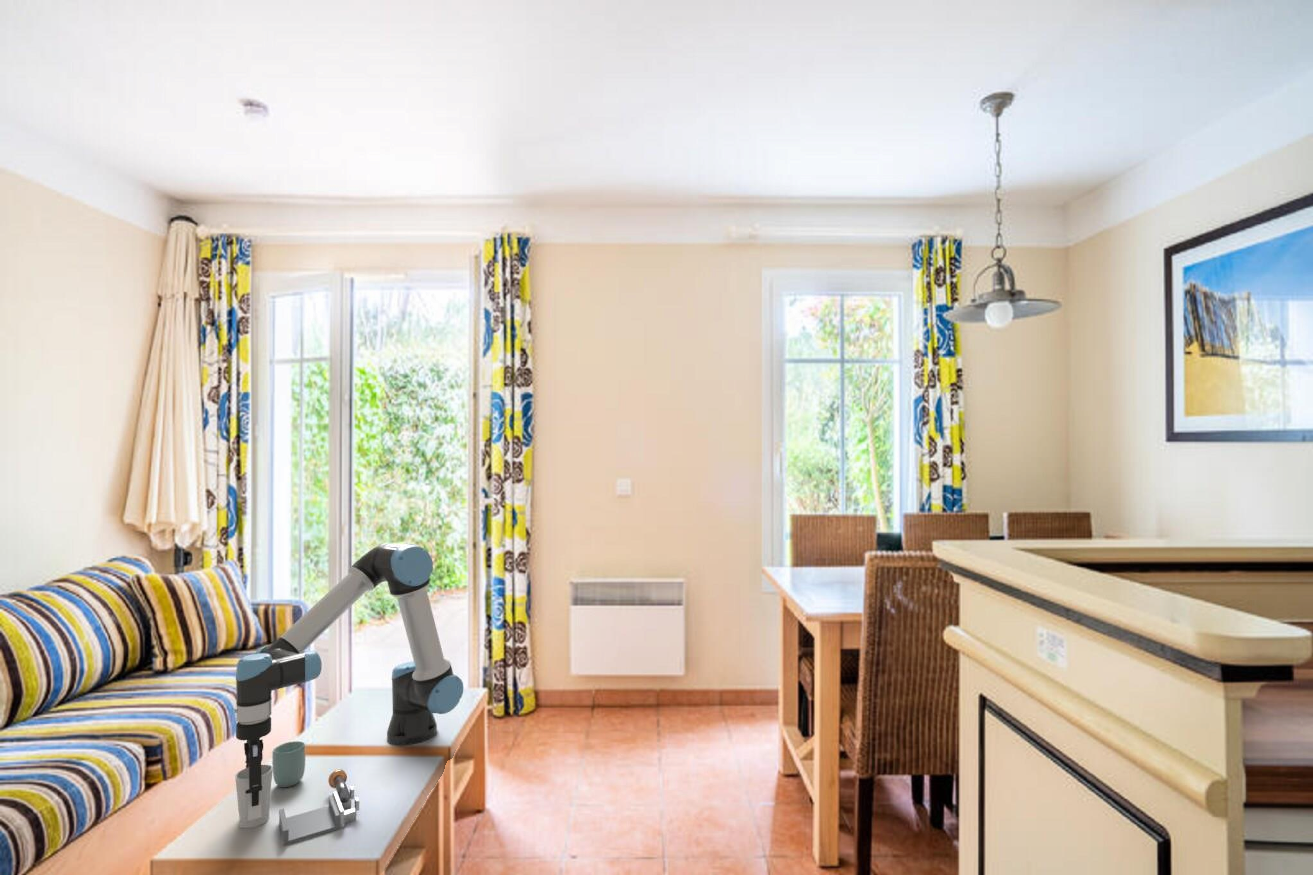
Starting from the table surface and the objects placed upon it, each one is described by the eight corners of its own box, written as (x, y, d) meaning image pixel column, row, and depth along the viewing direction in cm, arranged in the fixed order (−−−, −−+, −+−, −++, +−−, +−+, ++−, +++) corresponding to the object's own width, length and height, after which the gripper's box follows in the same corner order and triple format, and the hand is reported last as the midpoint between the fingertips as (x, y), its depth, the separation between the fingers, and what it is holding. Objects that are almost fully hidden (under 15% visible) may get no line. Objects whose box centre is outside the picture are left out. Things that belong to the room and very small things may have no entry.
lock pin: (328, 788, 177) (328, 772, 177) (346, 784, 179) (346, 767, 180) (335, 809, 166) (335, 791, 166) (354, 803, 169) (354, 786, 169)
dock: (333, 807, 169) (333, 794, 169) (340, 828, 159) (340, 814, 159) (279, 823, 163) (279, 809, 163) (283, 845, 153) (283, 831, 153)
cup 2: (291, 791, 179) (290, 753, 179) (266, 789, 180) (266, 752, 180) (311, 777, 186) (311, 741, 187) (287, 776, 188) (287, 740, 188)
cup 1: (280, 815, 166) (280, 766, 167) (251, 832, 159) (251, 781, 159) (256, 810, 169) (256, 762, 170) (227, 826, 162) (227, 776, 162)
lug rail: (352, 802, 172) (352, 784, 172) (360, 822, 162) (360, 803, 162) (333, 807, 169) (332, 789, 169) (340, 828, 159) (340, 809, 160)
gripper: (234, 707, 173) (234, 790, 172) (237, 739, 152) (236, 833, 151) (267, 701, 177) (267, 782, 176) (275, 731, 157) (274, 823, 156)
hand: (253, 806), depth 164 cm, fingers open, 13 cm apart
